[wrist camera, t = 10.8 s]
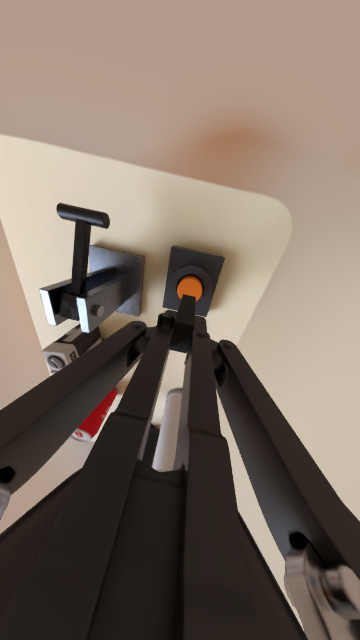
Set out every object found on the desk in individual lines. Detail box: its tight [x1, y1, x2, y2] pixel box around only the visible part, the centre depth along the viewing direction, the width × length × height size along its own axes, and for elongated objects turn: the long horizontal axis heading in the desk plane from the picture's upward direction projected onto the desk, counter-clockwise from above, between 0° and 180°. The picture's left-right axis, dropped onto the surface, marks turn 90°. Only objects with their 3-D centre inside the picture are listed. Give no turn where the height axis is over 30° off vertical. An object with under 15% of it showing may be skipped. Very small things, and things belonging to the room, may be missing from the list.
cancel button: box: [177, 276, 202, 301], centre depth 22 cm, size 4×4×2 cm
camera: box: [42, 324, 102, 374], centre depth 32 cm, size 14×8×10 cm, turn 177°
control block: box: [163, 246, 225, 317], centre depth 25 cm, size 10×8×4 cm
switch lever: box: [57, 203, 110, 321], centre depth 17 cm, size 12×5×2 cm, turn 170°
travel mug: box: [153, 389, 182, 472], centre depth 33 cm, size 6×7×20 cm
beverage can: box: [70, 388, 117, 442], centre depth 38 cm, size 6×6×12 cm
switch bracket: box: [39, 245, 145, 333], centre depth 22 cm, size 11×9×13 cm
